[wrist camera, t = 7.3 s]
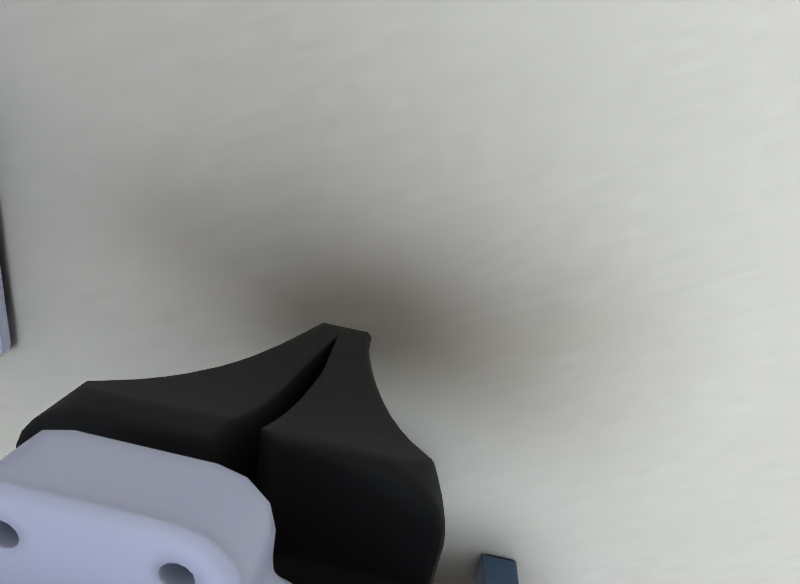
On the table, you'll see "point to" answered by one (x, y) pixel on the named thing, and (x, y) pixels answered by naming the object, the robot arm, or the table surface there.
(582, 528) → the table surface
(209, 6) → the table surface
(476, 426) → the table surface
